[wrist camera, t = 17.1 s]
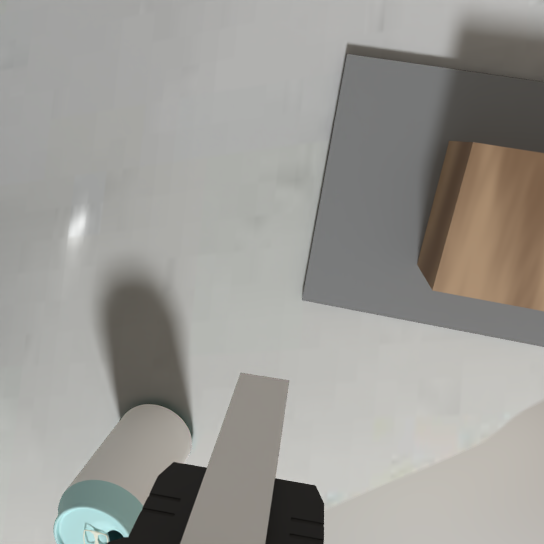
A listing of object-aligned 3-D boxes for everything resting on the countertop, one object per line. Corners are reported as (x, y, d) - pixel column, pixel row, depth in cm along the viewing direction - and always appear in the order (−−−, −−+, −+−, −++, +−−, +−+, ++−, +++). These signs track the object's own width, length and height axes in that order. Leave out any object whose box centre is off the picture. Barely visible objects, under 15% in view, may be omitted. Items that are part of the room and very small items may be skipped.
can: (162, 387, 41) (95, 483, 30) (209, 445, 42) (160, 559, 31) (107, 420, 43) (24, 523, 32) (153, 475, 44) (88, 593, 33)
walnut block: (432, 290, 28) (634, 328, 27) (473, 142, 26) (699, 177, 25) (416, 264, 34) (584, 294, 33) (449, 140, 31) (632, 169, 30)
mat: (302, 297, 37) (301, 300, 36) (346, 55, 31) (347, 53, 31) (586, 352, 35) (590, 355, 34) (687, 103, 29) (693, 103, 29)
